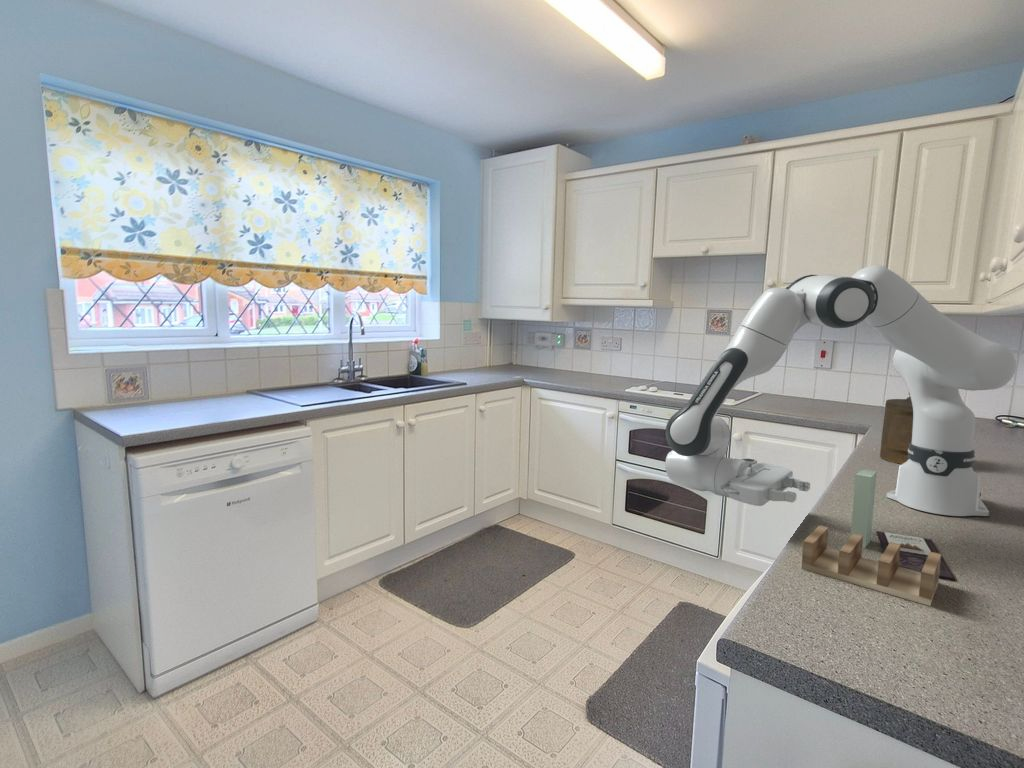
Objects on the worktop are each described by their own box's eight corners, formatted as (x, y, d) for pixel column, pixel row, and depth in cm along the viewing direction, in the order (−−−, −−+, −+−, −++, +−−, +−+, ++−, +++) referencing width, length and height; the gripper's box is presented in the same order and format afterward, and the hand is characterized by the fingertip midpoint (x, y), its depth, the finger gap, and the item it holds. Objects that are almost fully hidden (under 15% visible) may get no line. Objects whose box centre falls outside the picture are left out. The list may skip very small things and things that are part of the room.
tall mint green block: (856, 537, 108) (861, 469, 106) (870, 540, 106) (876, 471, 105) (850, 544, 105) (855, 474, 103) (865, 548, 103) (871, 477, 101)
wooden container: (951, 468, 158) (958, 393, 155) (895, 465, 160) (901, 392, 158) (921, 455, 173) (927, 387, 170) (870, 453, 175) (876, 386, 172)
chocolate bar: (890, 567, 94) (876, 530, 110) (889, 572, 94) (876, 535, 110) (955, 578, 90) (931, 539, 106) (954, 583, 90) (930, 544, 106)
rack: (817, 550, 102) (819, 525, 101) (938, 582, 89) (941, 554, 89) (801, 568, 95) (803, 541, 94) (930, 606, 82) (933, 574, 82)
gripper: (716, 475, 114) (787, 489, 104) (752, 456, 128) (817, 467, 119) (715, 504, 115) (785, 520, 105) (751, 482, 129) (815, 495, 120)
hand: (802, 492), depth 112 cm, fingers open, 8 cm apart
